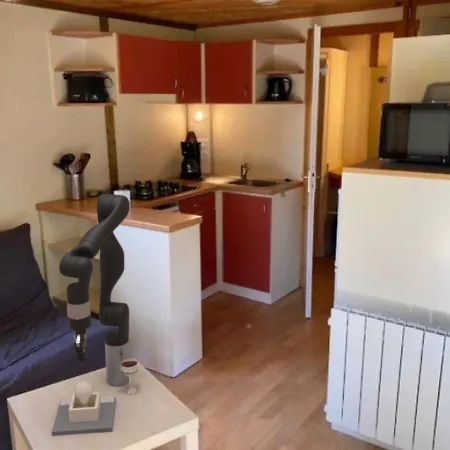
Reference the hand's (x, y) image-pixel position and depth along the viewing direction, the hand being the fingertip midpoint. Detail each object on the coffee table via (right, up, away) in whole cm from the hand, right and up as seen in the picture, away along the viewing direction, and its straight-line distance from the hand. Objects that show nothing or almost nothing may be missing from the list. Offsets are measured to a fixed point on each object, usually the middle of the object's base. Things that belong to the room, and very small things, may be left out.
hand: (82, 359), depth 178 cm
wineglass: (+12, -18, +23) cm, 31 cm away
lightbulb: (0, -19, +5) cm, 20 cm away
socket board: (0, -22, +6) cm, 23 cm away
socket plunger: (0, -21, +6) cm, 22 cm away
